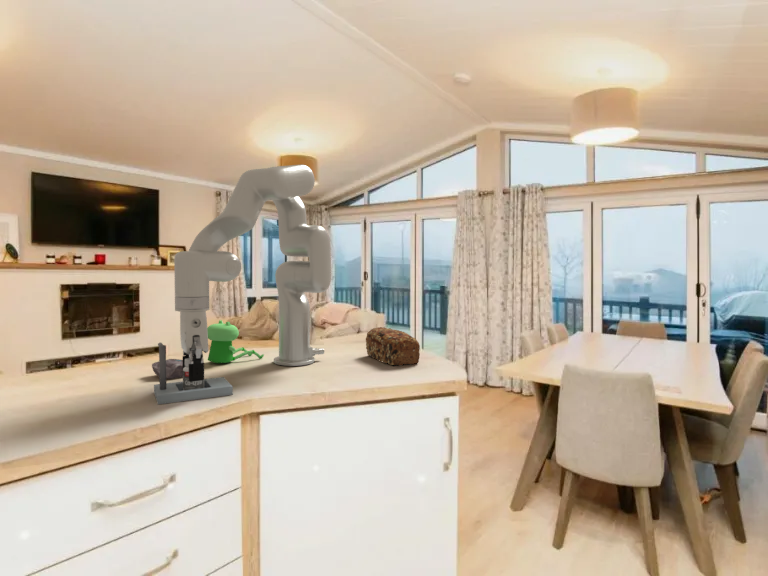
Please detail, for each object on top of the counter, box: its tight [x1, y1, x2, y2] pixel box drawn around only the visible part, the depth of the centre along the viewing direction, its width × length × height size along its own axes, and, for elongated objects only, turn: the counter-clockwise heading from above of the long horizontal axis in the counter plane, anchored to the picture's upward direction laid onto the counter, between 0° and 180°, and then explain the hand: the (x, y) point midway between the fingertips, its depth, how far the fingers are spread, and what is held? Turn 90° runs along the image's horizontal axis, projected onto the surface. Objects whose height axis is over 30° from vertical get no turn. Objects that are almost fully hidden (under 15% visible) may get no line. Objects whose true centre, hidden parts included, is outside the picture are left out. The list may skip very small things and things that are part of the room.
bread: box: [365, 326, 421, 366], centre depth 152 cm, size 19×11×10 cm, turn 28°
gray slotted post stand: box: [153, 342, 234, 405], centre depth 111 cm, size 16×10×12 cm, turn 121°
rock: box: [151, 358, 183, 380], centre depth 128 cm, size 8×11×5 cm
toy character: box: [207, 319, 265, 365], centre depth 147 cm, size 10×18×13 cm, turn 137°
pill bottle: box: [182, 358, 204, 391], centre depth 111 cm, size 5×5×8 cm
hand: (193, 375), depth 111 cm, fingers open, 9 cm apart
